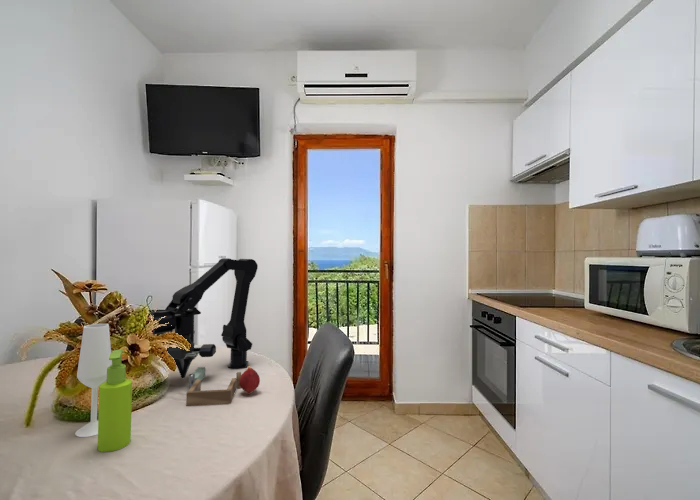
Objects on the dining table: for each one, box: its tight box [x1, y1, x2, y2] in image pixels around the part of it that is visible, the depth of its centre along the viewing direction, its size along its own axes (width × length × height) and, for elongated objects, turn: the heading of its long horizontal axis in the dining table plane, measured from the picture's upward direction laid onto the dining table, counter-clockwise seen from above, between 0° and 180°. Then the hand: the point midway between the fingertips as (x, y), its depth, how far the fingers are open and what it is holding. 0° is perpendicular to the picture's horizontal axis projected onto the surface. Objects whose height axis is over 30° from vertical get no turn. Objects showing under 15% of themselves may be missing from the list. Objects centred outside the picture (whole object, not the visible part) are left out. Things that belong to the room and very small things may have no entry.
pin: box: [188, 373, 195, 390], centre depth 105 cm, size 2×2×4 cm
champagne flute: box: [74, 323, 112, 438], centre depth 81 cm, size 7×7×24 cm
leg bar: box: [192, 366, 206, 382], centre depth 111 cm, size 10×2×3 cm, turn 10°
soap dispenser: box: [97, 349, 133, 453], centre depth 74 cm, size 6×7×20 cm
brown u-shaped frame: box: [185, 371, 242, 407], centre depth 101 cm, size 12×13×4 cm
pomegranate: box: [239, 365, 261, 395], centre depth 103 cm, size 6×6×8 cm
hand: (183, 377), depth 112 cm, fingers closed
